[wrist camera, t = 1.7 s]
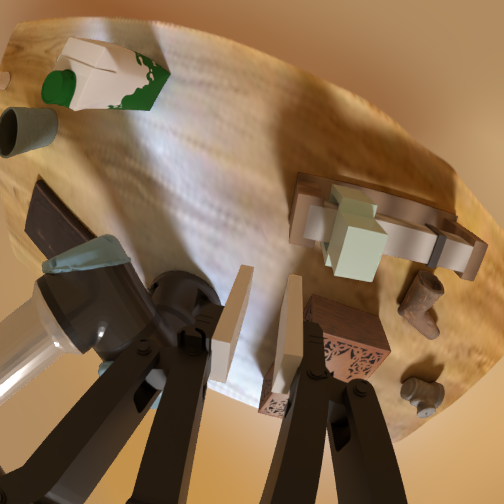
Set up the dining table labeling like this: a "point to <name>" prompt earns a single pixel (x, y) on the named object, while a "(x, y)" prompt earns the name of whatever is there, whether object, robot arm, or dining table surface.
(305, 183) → the rail
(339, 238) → the pale green slider block
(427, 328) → the pipe
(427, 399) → the pipe fitting
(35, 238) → the hardcover book
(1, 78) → the salt shaker
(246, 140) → the dining table surface
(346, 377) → the tissue box cover
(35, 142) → the grey green cup
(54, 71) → the milk carton
